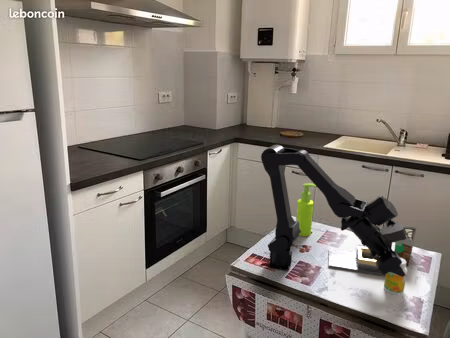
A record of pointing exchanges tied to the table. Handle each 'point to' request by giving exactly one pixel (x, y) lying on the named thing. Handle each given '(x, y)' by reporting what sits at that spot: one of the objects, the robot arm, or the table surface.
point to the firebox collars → (354, 260)
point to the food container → (406, 244)
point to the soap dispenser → (305, 210)
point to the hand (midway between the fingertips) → (401, 270)
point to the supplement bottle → (396, 280)
